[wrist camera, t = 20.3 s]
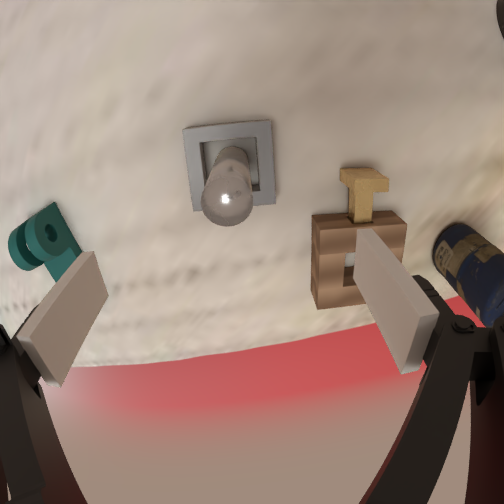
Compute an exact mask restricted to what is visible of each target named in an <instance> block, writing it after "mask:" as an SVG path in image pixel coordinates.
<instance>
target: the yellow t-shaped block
mask: <svg viewBox="0 0 504 504" xmlns="http://www.w3.org/2000/svg"><path fill="white" fill-rule="evenodd" d="M340 181H341V182H343V183H344V184H345V185H346V186H347V187H348V188H349V214H348V219H349V221H350V222H351V223H352V224H367V223H371V219H372V204H373V192H388V188H389V178H387V177H385V176H384V175H382V174H380V173H379V172H377V171H375V170H374V169H372V168H343V169H340Z"/></svg>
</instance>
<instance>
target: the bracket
mask: <svg viewBox="0 0 504 504" xmlns="http://www.w3.org/2000/svg"><path fill="white" fill-rule="evenodd" d="M26 243H27V245H28V247H27V245H26ZM28 248H29V249H30V250H29V249H28ZM8 249H9V253H10V256H11V258H12V260H13V261H14V263H15V264H16V265H17V266H18V267H19V268H21V269H23V270H26V271H30V270H33V269H35V268H37V267H38V266H40V265H42V264H43V263H44V264H45V266H46V268H47V269H48V271H49V272H50V274H51V276H52V277H53V279H54V280H55V282H57V281H58V280H59V279H60V278H61V276H62V275H63V274H64V273H65V272H66V270H67V269H68V268H69V267H70V266H71V264H72V263H73V262H74V261H75V260H76V259H77V257H78V256H79V255H80V254H81V253H82V251H81V249H80V247H79V245H78V244H77V242H76V240H75V238H74V237H73V235H72V233H71V231H70V229H69V228H68V226H67V224H66V222H65V220H64V218H63V217H62V215H61V213H60V211H59V209H58V207H57V205H56V203H55V202H53V203H52V204H50V205H49V206H47V207H46V208H44V209H43V210H41V211H40V212H38V213H36V214H35V215H34V216H32V217H31V218H29V219H28V220H26V221H25V222H24V223H22V224H21V225H20V226H18V227H17V228H16V229H14V230H13V231H12V232H11V234H10V236H9V240H8Z"/></svg>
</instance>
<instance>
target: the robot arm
mask: <svg viewBox="0 0 504 504" xmlns="http://www.w3.org/2000/svg"><path fill="white" fill-rule="evenodd" d="M497 16H498V22H499V26H500V29H501V32H502V35H503V37H504V0H498V3H497ZM353 279H354V281H355V283H356V285H357V287H358V289H359V290H360V292H361V294H362V296H363V298H364V300H365V302H366V304H367V306H368V308H369V310H370V312H371V314H372V316H373V317H374V319H375V321H376V323H377V325H378V327H379V329H380V331H381V333H382V336H383V338H384V340H385V342H386V344H387V346H388V348H389V350H390V352H391V354H392V356H393V358H394V361H395V363H396V365H397V367H398V369H399V371H400V374H405V373H409V372H413V371H417V370H419V368H420V365H421V363H422V360H424V362H425V364H426V365H427V368H426V371H425V373H424V375H423V377H422V380H421V382H420V384H419V385H420V386H419V389H418V391H417V394H416V396H415V398H414V401H413V403H412V405H411V408H410V410H409V412H408V415H407V417H406V419H405V421H404V423H403V425H402V428H401V430H400V432H399V434H398V436H397V438H396V440H395V442H394V444H393V446H392V448H391V450H390V452H389V453H388V455H387V457H386V459H385V461H384V463H383V465H382V466H381V468H380V470H379V471H378V473H377V475H376V477H375V478H374V480H373V482H372V483H371V485H370V487H369V488H368V490H367V491H366V493H365V495H364V496H363V498H362V499H361V501H360V502H359V504H427V502H428V500H429V498H430V496H431V494H432V491H433V489H434V487H435V485H436V482H437V480H438V478H439V475H440V473H441V470H442V468H443V465H444V463H445V460H446V457H447V455H448V452H449V449H450V446H451V443H452V440H453V437H454V434H455V431H456V428H457V424H458V421H459V417H460V414H461V410H462V407H463V403H464V399H465V395H466V391H467V387H468V382H469V381H470V396H471V441H470V442H471V443H470V460H469V472H468V482H467V490H466V498H465V504H504V317H499V318H497V319H496V320H495V321H494V323H493V326H492V328H485V327H484V328H483V327H477V326H476V325H475V323H474V322H473V321H472V320H471V319H469V318H467V317H465V316H462V315H455V314H454V313H453V311H452V310H451V309H450V308H449V306H448V305H447V303H446V302H445V301H444V300H443V298H442V297H441V296H439V293H438V292H437V291H436V290H434V287H433V286H432V285H431V284H430V282H429V281H428V280H426V279H425V278H423V277H421V276H420V275H414V276H411V275H410V274H409V272H408V271H407V270H406V269H405V267H404V266H403V265H402V264H401V262H400V261H399V260H398V259H397V257H396V256H395V255H394V254H393V253H392V251H391V250H390V249H389V248H388V247H387V246H386V244H385V243H384V242H383V241H382V240H381V238H380V237H379V236H378V235H377V234H376V233H375V232H374V230H373V229H372V228H370V229H357V240H356V252H355V263H354V273H353ZM108 296H109V295H108V292H107V290H106V287H105V284H104V281H103V278H102V275H101V272H100V269H99V266H98V263H97V260H96V257H95V254H94V251H91V252H82V253H81V254H80V255H79V256H78V257H77V259H76V260H75V261H74V262H73V263H72V264H71V266H70V267H69V268H68V269H67V270H66V272H65V273H64V274H63V275H62V276H61V278H60V279H59V280H58V281H57V282H56V284H55V285H54V286H53V287H52V289H51V290H50V291H49V292H48V294H47V295H46V296H45V298H44V299H43V300H42V301H41V303H40V304H38V305H37V306H36V307H35V308H34V309H33V310H32V311H31V313H30V314H29V315H28V317H27V318H26V319H25V321H24V323H22V325H21V326H20V328H19V329H18V330H17V332H16V333H15V335H14V336H13V337H12V339H10V337H9V336H8V334H7V332H6V330H5V329H4V327H3V325H1V324H0V504H87V502H86V500H85V498H84V496H83V494H82V492H81V490H80V488H79V486H78V484H77V482H76V480H75V478H74V475H73V473H72V471H71V468H70V466H69V464H68V462H67V459H66V457H65V455H64V452H63V449H62V447H61V444H60V442H59V439H58V437H57V434H56V431H55V428H54V425H53V422H52V419H51V416H50V413H49V411H48V407H47V404H46V400H45V397H44V393H43V390H42V387H41V385H40V384H39V382H38V381H39V379H40V377H41V376H42V378H43V379H44V381H45V382H46V383H47V385H49V386H55V387H61V386H62V384H63V382H64V380H65V378H66V376H67V374H68V372H69V370H70V368H71V365H72V363H73V361H74V359H75V357H76V355H77V353H78V351H79V349H80V348H81V346H82V344H83V342H84V340H85V338H86V336H87V334H88V332H89V330H90V328H91V327H92V325H93V323H94V321H95V319H96V317H97V316H98V314H99V312H100V310H101V308H102V307H103V305H104V303H105V301H106V300H107V298H108ZM7 484H8V487H9V491H10V494H11V500H10V501H8V490H7Z"/></svg>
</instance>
